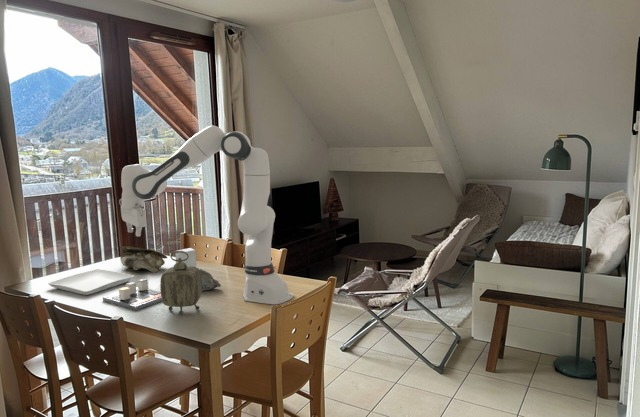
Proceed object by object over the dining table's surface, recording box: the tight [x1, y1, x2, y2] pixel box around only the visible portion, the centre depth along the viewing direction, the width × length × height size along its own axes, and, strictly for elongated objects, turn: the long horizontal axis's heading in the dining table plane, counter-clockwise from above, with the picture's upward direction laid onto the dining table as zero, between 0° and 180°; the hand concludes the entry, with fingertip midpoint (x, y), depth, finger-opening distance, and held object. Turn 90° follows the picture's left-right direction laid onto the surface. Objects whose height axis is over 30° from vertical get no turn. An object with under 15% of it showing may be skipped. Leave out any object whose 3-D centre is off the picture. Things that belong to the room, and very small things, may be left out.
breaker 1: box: [124, 281, 137, 295], centre depth 209 cm, size 3×3×4 cm
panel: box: [102, 286, 163, 312], centre depth 207 cm, size 22×18×2 cm
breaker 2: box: [137, 278, 149, 291], centre depth 214 cm, size 3×3×4 cm
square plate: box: [47, 268, 135, 296], centre depth 228 cm, size 27×27×4 cm
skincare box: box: [174, 247, 197, 268], centre depth 236 cm, size 8×6×15 cm
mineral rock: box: [199, 268, 222, 292], centre depth 218 cm, size 13×11×10 cm
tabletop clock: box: [159, 250, 203, 316], centre depth 189 cm, size 14×9×25 cm, turn 92°
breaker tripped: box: [118, 286, 130, 300], centre depth 202 cm, size 3×3×4 cm
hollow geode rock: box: [120, 245, 168, 273], centre depth 255 cm, size 28×13×15 cm
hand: (134, 234), depth 208 cm, fingers open, 8 cm apart
